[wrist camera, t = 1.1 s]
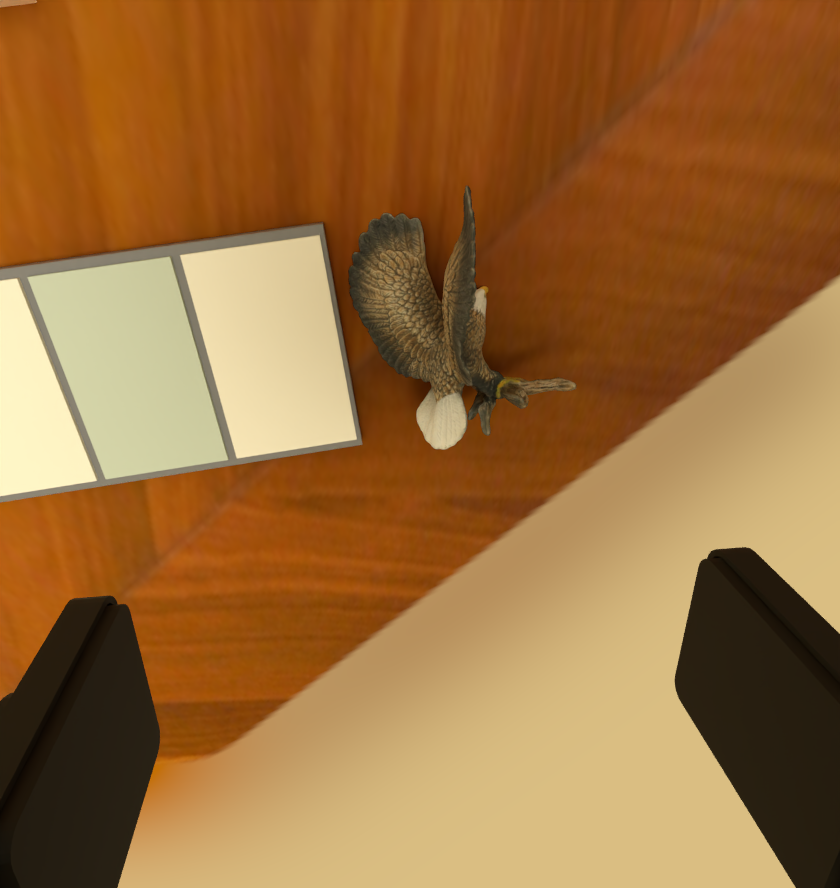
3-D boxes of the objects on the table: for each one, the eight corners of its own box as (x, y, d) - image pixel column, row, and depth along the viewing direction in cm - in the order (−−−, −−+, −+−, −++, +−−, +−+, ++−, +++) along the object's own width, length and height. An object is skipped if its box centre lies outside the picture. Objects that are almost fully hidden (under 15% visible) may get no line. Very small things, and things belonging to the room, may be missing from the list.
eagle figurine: (588, 324, 28) (494, 146, 23) (568, 446, 24) (448, 261, 19) (447, 365, 33) (342, 222, 28) (410, 474, 29) (278, 329, 24)
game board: (322, 221, 26) (322, 224, 25) (361, 437, 31) (362, 446, 30) (-123, 284, 25) (-140, 289, 25) (-18, 497, 30) (-29, 508, 29)
